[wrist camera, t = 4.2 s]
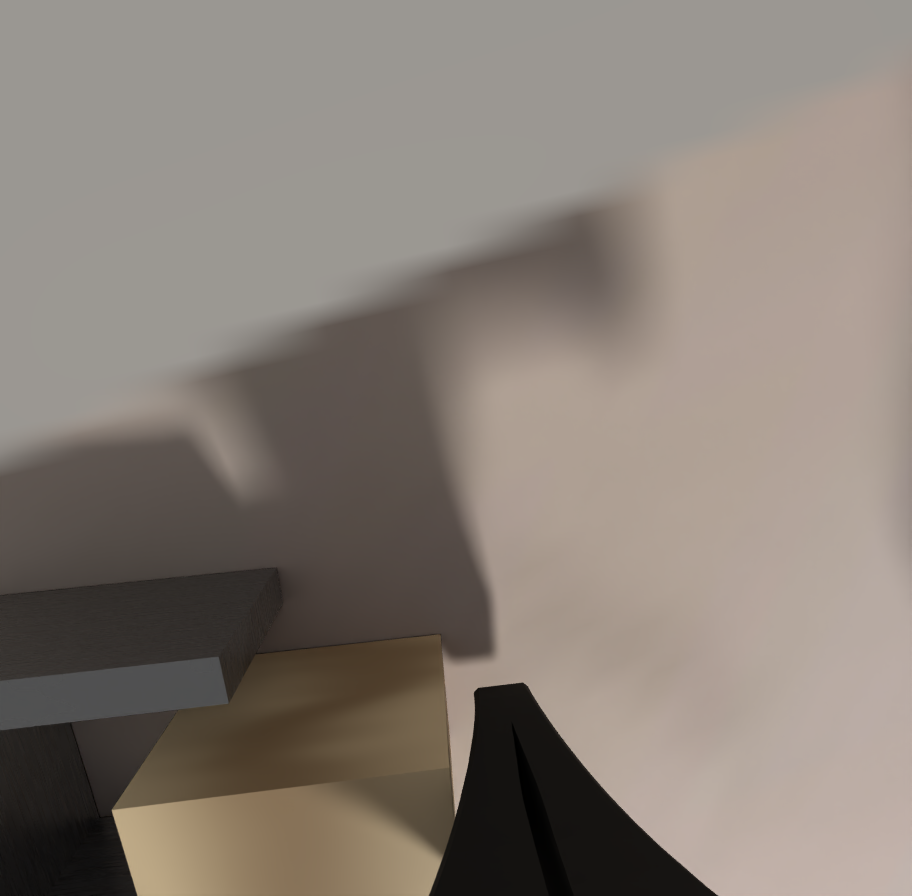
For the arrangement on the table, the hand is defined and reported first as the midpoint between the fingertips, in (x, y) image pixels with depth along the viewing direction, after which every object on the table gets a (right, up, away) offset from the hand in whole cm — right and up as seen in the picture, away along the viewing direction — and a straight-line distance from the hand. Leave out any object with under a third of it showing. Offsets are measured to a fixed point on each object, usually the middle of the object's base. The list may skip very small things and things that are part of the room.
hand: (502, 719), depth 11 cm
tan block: (-4, 0, +1) cm, 5 cm away
